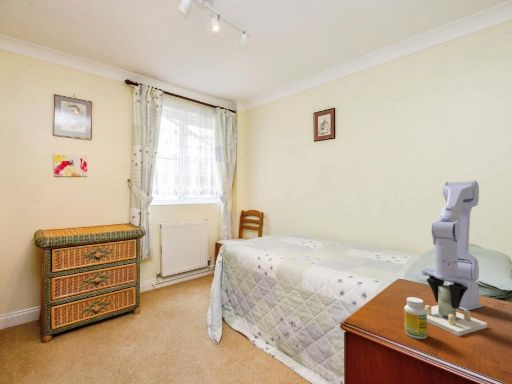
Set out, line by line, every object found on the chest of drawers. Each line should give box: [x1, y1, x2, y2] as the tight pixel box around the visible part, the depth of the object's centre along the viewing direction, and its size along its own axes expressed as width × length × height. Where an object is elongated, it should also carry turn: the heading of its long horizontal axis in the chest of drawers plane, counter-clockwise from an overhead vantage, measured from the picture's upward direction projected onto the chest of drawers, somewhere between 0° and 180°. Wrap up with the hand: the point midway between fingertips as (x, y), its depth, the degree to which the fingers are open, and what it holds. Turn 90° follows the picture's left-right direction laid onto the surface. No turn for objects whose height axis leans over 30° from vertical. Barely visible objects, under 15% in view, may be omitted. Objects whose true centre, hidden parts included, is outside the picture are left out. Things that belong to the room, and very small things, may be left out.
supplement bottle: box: [403, 296, 428, 340], centre depth 72 cm, size 5×5×10 cm
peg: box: [437, 284, 457, 316], centre depth 80 cm, size 4×4×8 cm
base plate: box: [424, 304, 488, 337], centre depth 80 cm, size 13×14×4 cm
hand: (447, 304), depth 80 cm, fingers closed on peg, 4 cm apart
